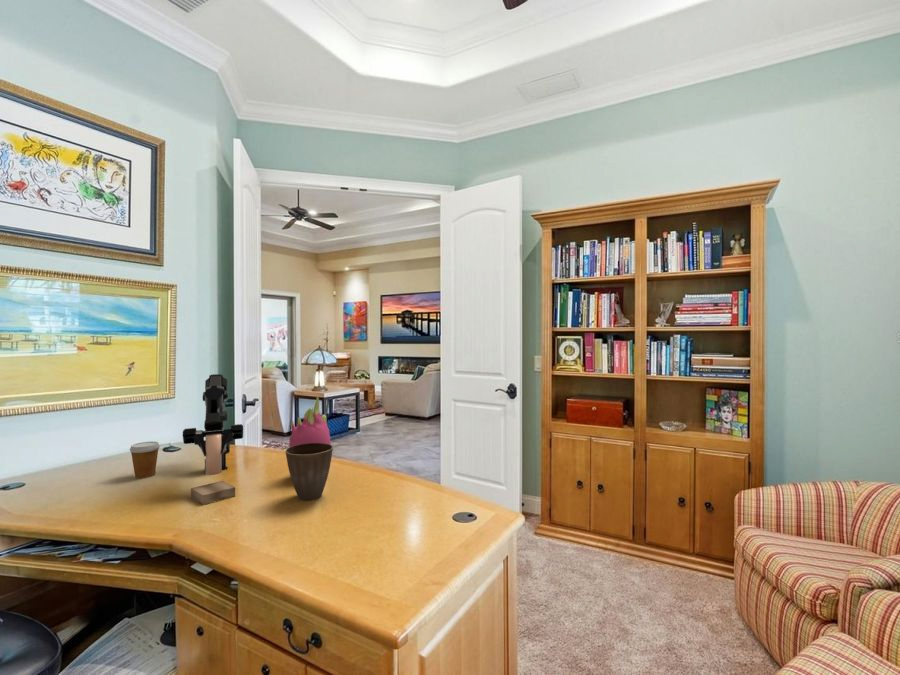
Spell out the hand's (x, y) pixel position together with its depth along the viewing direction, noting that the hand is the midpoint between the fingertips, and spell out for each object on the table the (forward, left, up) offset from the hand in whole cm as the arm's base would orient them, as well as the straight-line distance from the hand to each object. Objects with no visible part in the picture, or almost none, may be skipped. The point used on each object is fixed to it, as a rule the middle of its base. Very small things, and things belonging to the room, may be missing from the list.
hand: (213, 454), depth 153 cm
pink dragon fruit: (-31, +10, -13) cm, 35 cm away
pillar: (-1, -1, -7) cm, 7 cm away
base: (+2, +5, -13) cm, 14 cm away
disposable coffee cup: (+10, -38, -13) cm, 41 cm away
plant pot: (-19, +29, -13) cm, 37 cm away
